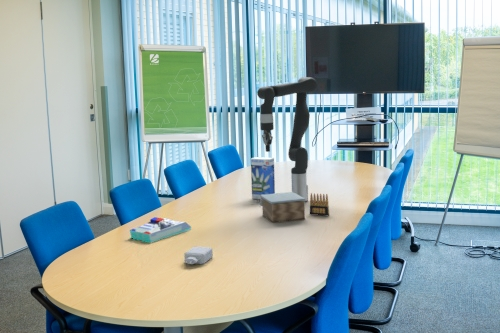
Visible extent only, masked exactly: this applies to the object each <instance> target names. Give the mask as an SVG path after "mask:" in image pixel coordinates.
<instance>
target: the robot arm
mask: <svg viewBox="0 0 500 333" xmlns="http://www.w3.org/2000/svg"><path fill="white" fill-rule="evenodd" d="M317 88H318V81H317V80H316V79H315V78H314V77H310V76H308V77H306V76H305V77H300V78H299V79H298V80H297V82H286V83H278V84H275V85H270V86H268V85H266V86H261V87H259V88H258V89H257V93H256V95H257V97H258V98H259V99H261V100H263V103H261V104H260V112H259V113H260V115H259V116H260V118H259V119H260V120H259V122H260V123H259V124H260V126H259V127H260V130H261V131H263V133H262V135H261V136H262V141H263V144H264V145H265V152H268V153H269V152H271V145H272V142H273V139H274V137H273V136H272V132H271V131H274V129H275V128H274V114H273V109H274V108H273V106H274V100H275V98H280V97H284V96H288V95H293V94H295V96H296V100H295V108H294V109H295V110H294V116H293V117H294V118H293V127H292V134H291V139H290V142H289V143H290V144H289V147H288V154H287V155H288V158H289V160H290V161H292V162H294V166H293V167H292V168H291V169H290V172H291V174H290V176H291V177H290V178H291V192H294V193H296V194H297V195H299V196H301V197H303V198H305V201H304V202H307V201H309V186H308V183H307V170H308V166H309V165H308V164H309V163H308V161H309V155H308V150H307V149H306V148H305V147H302V140H303V137H304V135H305V133H306V131H307V130H308V127H309V124H310V115H311V113H310V110H309V108H308V103H307V98H308V96H307V95H308V94H312V93H313V92H315V91H316V90H317Z"/></svg>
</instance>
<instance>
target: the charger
mask: <svg viewBox="0 0 500 333" xmlns="http://www.w3.org/2000/svg"><path fill="white" fill-rule="evenodd" d="M213 254H214V253H213V248H212V247H210V246H209V247H208V246H193V247H192V248H190V249H188V250H187V251H185V252H184V254H183V256H184V260H183V261H184V262H185V263H186V264H188V265H194V264H196V265H204V264H206V262H208V261H209V260H211V259H212V258H213V257H214V255H213Z"/></svg>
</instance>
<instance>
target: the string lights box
mask: <svg viewBox="0 0 500 333" xmlns="http://www.w3.org/2000/svg"><path fill="white" fill-rule="evenodd" d="M250 171H251V199H252V200H253V199H254V200H260V195H266V194H276V190H275V189H276V188H275V184H276V183H275V182H276V181H275V180H276V179H275V157H267V156H266V157H265V156H264V157H263V156H258V157H257V156H255V157H251V158H250Z"/></svg>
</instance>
